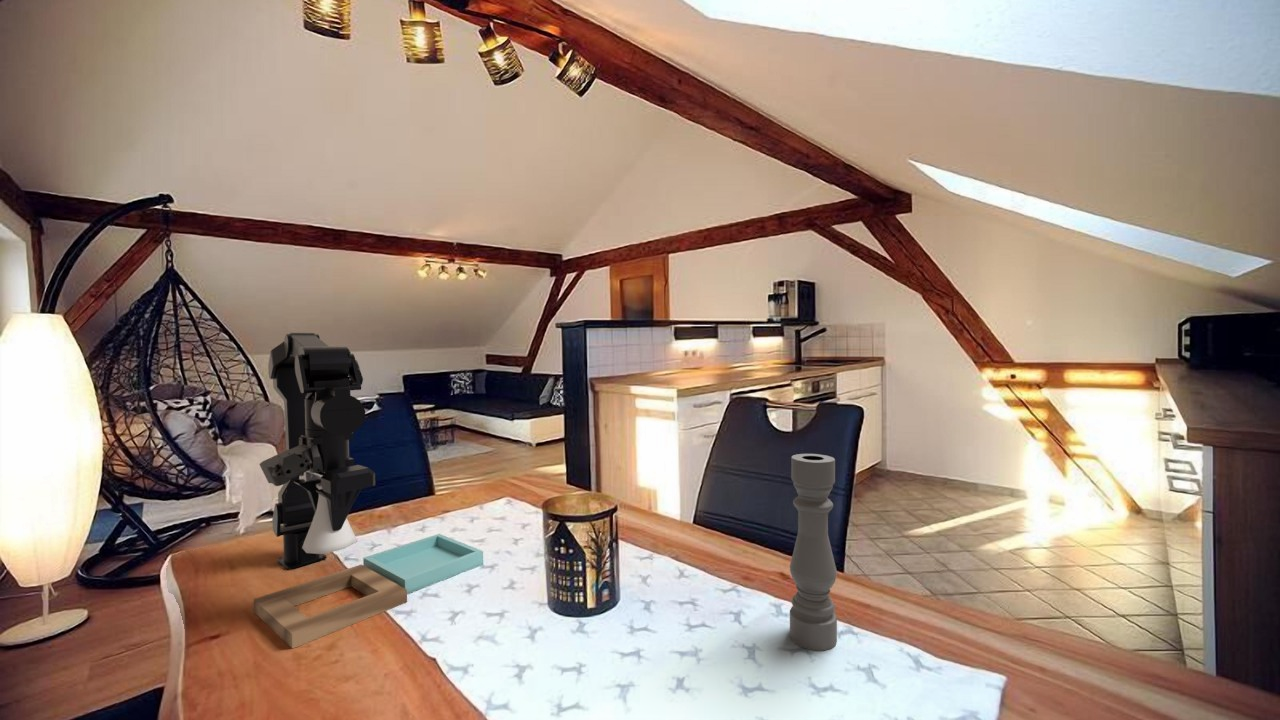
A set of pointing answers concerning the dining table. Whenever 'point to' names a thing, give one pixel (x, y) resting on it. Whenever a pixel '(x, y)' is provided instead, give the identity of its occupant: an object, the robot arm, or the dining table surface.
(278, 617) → the frame
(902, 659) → the dining table surface
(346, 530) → the flask
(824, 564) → the candle holder
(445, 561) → the teal tray
